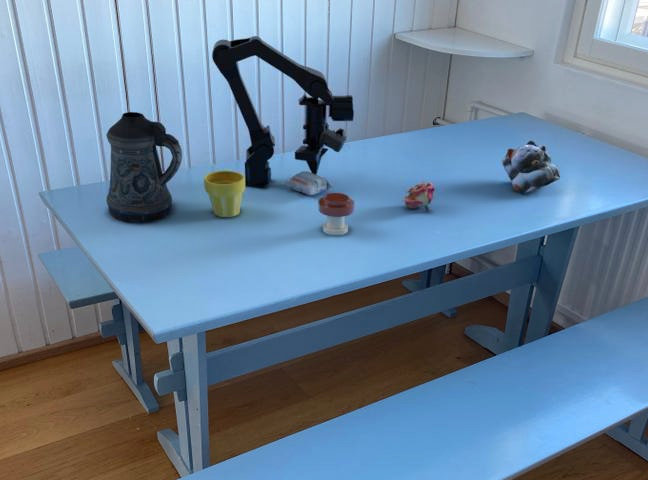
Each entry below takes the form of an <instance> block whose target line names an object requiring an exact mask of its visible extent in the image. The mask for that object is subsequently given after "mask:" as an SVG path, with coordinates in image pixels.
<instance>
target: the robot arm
mask: <svg viewBox="0 0 648 480" xmlns="http://www.w3.org/2000/svg"><path fill="white" fill-rule="evenodd" d="M255 56H256V57H257V58H259V59H260V60H262V61H263V62H265V63H266V64H268V65H270V66H271V67H273V68H275V69H276V70H278V71H279V72H281V73H282V74H284V75H285V76H287V77H289V78H290V79H292V80H293V81H294V82H295V83H296V84H297V85H298V86H299V87H300V88H301V89H302V90H303V91H304V92H305V93H306V94H305V93H303V95H302V96H301V97H300V98H299V99H298V101H297V102H298V105H299V106H305V107H304V109H305V110H304V113H305V114H304V118H305V119H304V124H302V129H303V130H304V139H303V140H302V144H303V145H300V147H298V148H297V149H296V150H295V152H294V160H297V161H304V162H306V164H307V167H308V168H309V172H311V173H313V174H316V175H318V172H319V168H320V164H321V161H322V157H324V156H325V154H326V153H327V152H328V151H329V149H331V150H333V151H334V152H336V153H340V152H341V150H342V149H343V148H344V145H345V142H346V141H347V135H346V133H345V129H344V128H342V127H340V128H338V129H333V130H332V129H330V125H329V123H328V122H327V117H328V118H330V120H331V121H332V122H354V116H355V111H354V98H353V95H352V94H346V95H333V92H332V90H330V89H329V87H328V83H327V79H326V76H325V74H323V72H321V71H319V70H317V69H314V68H312V67H309V66H306V65H302V64H300V63H298V62H296V61H295V60H293V58H290V57H289V56H287V55H285V54H284V53H282V52H281V51H280V50H278V49H277V48H275V47H273V46H272V45H270V44H269V43H267V42H266V41H264V40H263V39H262V38H261V37H259V36H257V35H253V36H251V37H247V38H237V39H232V40H228V39H218V40H217V41H216V42H215V43H214V45H213V47H212V54H211V58H212V62H213V63H214V65H215V67H216V68H217V69H218V71H219V73H220V74H221V76H223V78H224V80H225V81H226V82H227V83H228V86H229V88H230V90H231V93H232V95H233V98H234V100H235V102H236V104H237V107H238V109H239V112H240V114H241V116H242V119H243V121H244V123H245V125H246V127H247V130H248V134H249V140H250V144H251V145H250V146H248V148H247V149H246V151H245V162H244V177H245V187H246V186H248V187H254V188H260V189H264V188H266V187H267V186H268V185H269V184H270V183H271V182H272V180H273V179H272V168H271V167H270V161H269V160H271V159H272V158H273V156H274V153H275V147H276V140H275V136H274V135H273V134H272V132H271V128H270V125H266V126H264V124H263V123H262V121H261V120H260V118H259V115H258V113H257V110H256V107H255V105H254V103H253V100H252V97H251V96H250V93H249V91H248V89H247V86H246V84H245V82H244V79H243V76H242V74H241V69H240V66H239V62H241V61H243V60H246V59H248V58H251V57H255ZM307 95H309V96H307ZM324 146H326V147H327V148H326V147H324Z"/></svg>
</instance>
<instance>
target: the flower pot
mask: <svg viewBox="0 0 648 480" xmlns="http://www.w3.org/2000/svg"><path fill="white" fill-rule="evenodd" d="M203 177H204V178H203V182H204V190H205V192H206V193H207V195H208V197H209V201H210V204H211V206H212V210H213V213H214V215H215V216H217V217H220V218H233V217H236V216H238V215H239V214H240V211H241V204H242V199H243V193H244V192H245V190H246V185H245V174H243V173H241V172H240V171H236V170H229V169H228V170H227V169H226V170H216V171H211V172H209V173H207V174H205V176H203Z"/></svg>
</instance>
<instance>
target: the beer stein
mask: <svg viewBox="0 0 648 480" xmlns="http://www.w3.org/2000/svg"><path fill="white" fill-rule="evenodd" d="M105 135H106V139H107V142H108V143H109V145H110V176H109V177H110V178H109V179H110V180H109V188H108V192H107V195H106V205H107V207H108V214H109V215H110V216H111V217H112V218H113V219H115V220H116V221H120V222H124V223H126V224H127V223H128V224H145V223H151V222H156V221H159V220H163V219H164V218H165V217H166V216H168V215H169V214H170V213H171V211H172V204H173V197H172V194H171V192H170V190H169V188H168V185H167V183H169V182H170V181H171V179H173V177H175V175H176V174H177V173H178V171H179V169H180V167H181V164H182V160H183V150H182V147H181V145H180V142H179V140H178V139H177V138H176V137H175V136H174V135H172V134H169V133H167V129H166V127H165V125H164V124H163V123H162V122H158V121H153V120H149V119H148V118H146V116H145V115H144V113H141V112H136V111H135V112H134V111H127V112H124V113H122V115H121V117H120V119H118V121H117V122H115V123H114V124H113V125H112V126H111V127H110V128H109V129H108V130H107V133H106V134H105ZM157 147H165V148H167V149H168V150H169V151H170V154H171V157H172V158H171V161H170V164H169V165H168V167H167V168H166V170H165V171H164V172H163V167H162V163H161V160H160V156H159V152H158V148H157Z"/></svg>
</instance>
